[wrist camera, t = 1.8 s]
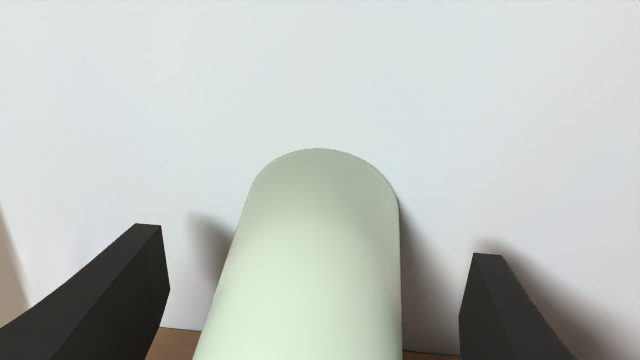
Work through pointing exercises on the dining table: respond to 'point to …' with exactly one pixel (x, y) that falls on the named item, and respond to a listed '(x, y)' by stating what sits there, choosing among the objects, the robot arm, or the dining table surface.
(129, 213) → the dining table surface
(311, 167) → the peg
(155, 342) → the peg board
